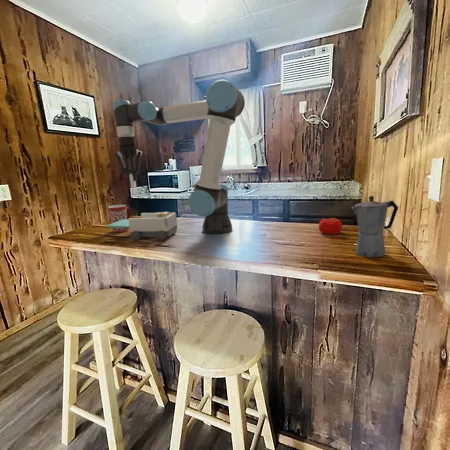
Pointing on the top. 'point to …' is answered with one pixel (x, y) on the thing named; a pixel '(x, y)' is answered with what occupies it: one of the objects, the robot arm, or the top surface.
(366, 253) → the moka pot
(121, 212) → the mug
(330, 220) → the tomato
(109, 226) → the tailgate
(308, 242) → the top surface
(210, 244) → the top surface
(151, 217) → the trailer
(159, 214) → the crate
